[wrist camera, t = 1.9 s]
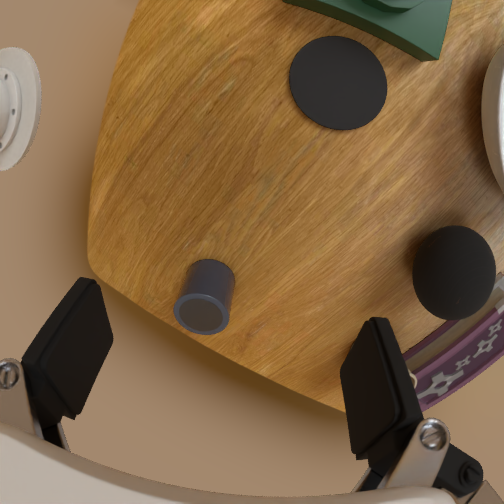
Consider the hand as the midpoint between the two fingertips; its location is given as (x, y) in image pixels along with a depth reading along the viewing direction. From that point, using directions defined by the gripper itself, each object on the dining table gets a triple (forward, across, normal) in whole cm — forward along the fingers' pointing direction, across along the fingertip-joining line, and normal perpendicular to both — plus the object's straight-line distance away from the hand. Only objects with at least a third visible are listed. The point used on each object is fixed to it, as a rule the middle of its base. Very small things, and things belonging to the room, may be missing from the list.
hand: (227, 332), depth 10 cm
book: (+20, -37, +21) cm, 47 cm away
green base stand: (+20, -8, -21) cm, 30 cm away
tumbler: (+20, +3, +13) cm, 24 cm away
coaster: (+20, -6, -10) cm, 23 cm away
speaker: (+20, -22, +5) cm, 30 cm away
